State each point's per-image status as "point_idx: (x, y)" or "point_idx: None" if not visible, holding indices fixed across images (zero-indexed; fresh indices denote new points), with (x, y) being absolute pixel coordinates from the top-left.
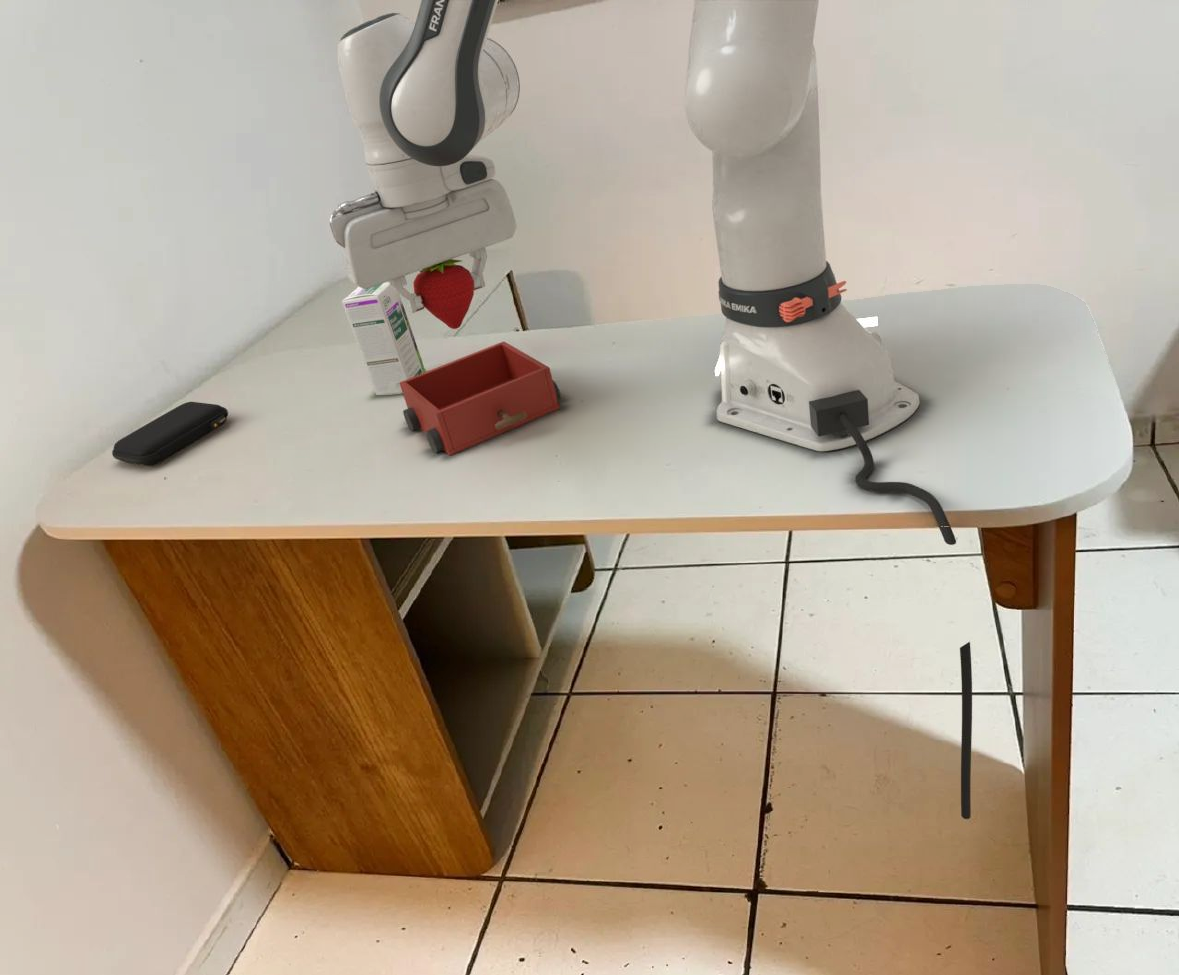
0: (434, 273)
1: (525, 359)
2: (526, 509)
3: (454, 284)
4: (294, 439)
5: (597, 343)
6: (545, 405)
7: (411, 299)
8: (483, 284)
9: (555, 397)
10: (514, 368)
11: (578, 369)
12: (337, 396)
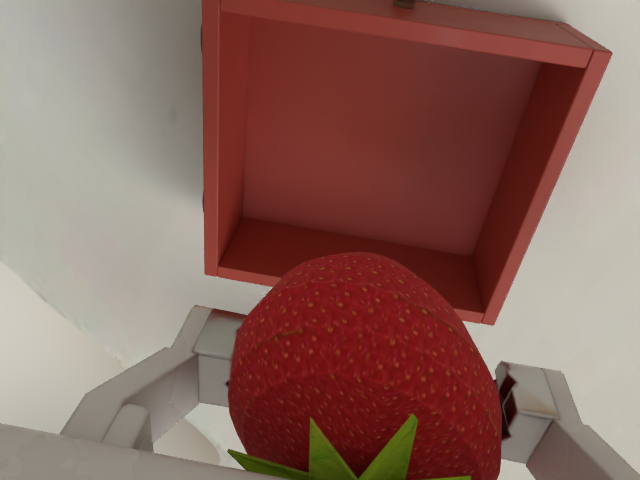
0: (423, 464)
1: (220, 130)
2: None
3: (382, 321)
4: (634, 401)
5: (22, 190)
6: None
7: (569, 416)
8: (200, 309)
9: None
10: (233, 198)
11: (107, 122)
12: None
